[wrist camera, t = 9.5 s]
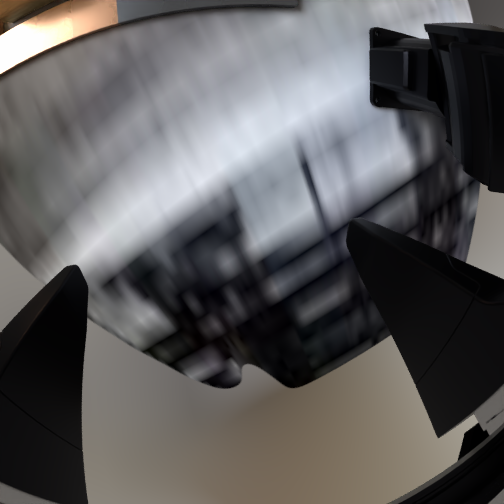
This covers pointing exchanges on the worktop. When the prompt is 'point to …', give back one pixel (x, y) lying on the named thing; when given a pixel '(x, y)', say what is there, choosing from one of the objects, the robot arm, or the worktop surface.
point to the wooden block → (19, 8)
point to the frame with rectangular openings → (96, 22)
